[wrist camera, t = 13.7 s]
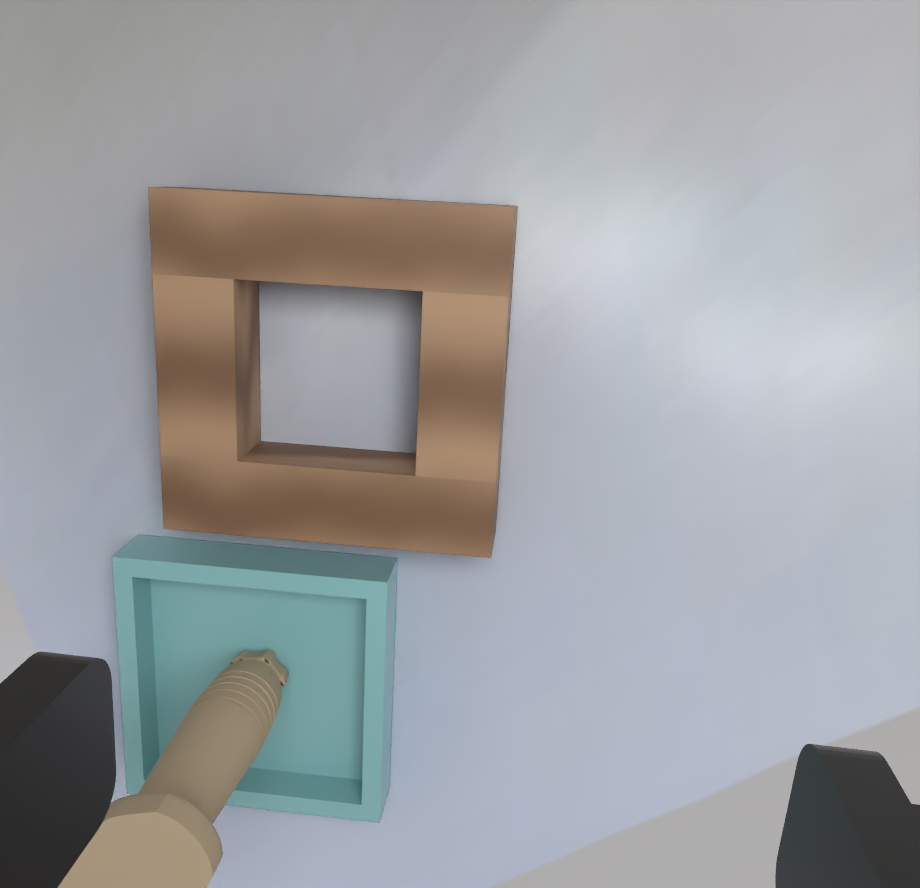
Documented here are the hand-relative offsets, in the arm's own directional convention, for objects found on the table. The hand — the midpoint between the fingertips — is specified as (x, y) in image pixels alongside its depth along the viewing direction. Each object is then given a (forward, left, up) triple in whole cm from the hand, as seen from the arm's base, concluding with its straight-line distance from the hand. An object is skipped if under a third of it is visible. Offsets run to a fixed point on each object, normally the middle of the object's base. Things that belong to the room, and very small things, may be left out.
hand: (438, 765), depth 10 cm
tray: (+19, -13, -33) cm, 41 cm away
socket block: (+2, -9, -33) cm, 35 cm away
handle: (+19, -13, -33) cm, 40 cm away
